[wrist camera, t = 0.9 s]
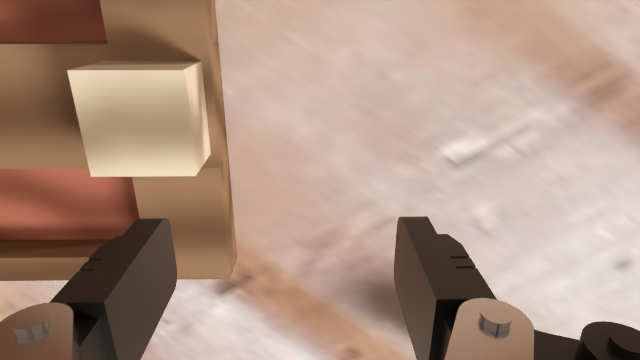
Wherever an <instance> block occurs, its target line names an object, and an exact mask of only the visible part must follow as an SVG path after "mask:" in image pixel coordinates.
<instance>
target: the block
mask: <svg viewBox="0 0 640 360" xmlns="http://www.w3.org/2000/svg"><path fill="white" fill-rule="evenodd" d="M67 72H68V77H69V81H70V85H71V90H72V94H73V99H74V103H75V108H76V112H77V117H78V121H79V126H80V130H81V135H82V139H83V144H84V148H85V153H86V157H87V162H88V166H89V171H90V175H91V177H150V176H196V175H197V173H198V172H199V170H200V169H201V167H202V166H203V164H204V163H205V162H206V160H207V159H208V157H209V156H210V154H211V151H210V141H209V132H208V122H207V112H206V103H205V93H204V83H203V74H202V64H201V61H102V62H98V63H94V64H90V65H86V66H82V67H78V68H74V69H70V70H67Z"/></svg>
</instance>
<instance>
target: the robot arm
mask: <svg viewBox="0 0 640 360" xmlns="http://www.w3.org/2000/svg"><path fill="white" fill-rule="evenodd" d="M394 280H395V287H396V291H397V294H398V298H399V301H400V304H401V308H402V311H403V314H404V318H405V321H406V324H407V328H408V331H409V335H410V338H411V341H412V345H413V348H414V351H415V355H416V358H417V360H640V331H638V330H636V329H634V328H631V327H628V326H625V325H622V324H618V323H613V322H594V323H590V324H588V325H587V326H585V327H584V329H583V330H582V334H581V337H580V340H576V339H572V338H567V337H562V336H557V335H553V334H548V333H544V332H540V331H537V330H534V327H533V325H532V323H531V321H530V320H529V318H528V317H527V316H526V315H525V314H524V313H523V312H521V311H520V310H519V309H517V308H516V307H514V306H512V305H510V304H508V303H505V302H502V301H499V300H497V299H496V298H495V296H494V294H493V293H492V291H491V290H490V288H489V287H488V285H487V283H486V282H485V280H484V279H483V277H482V276H481V274H480V272H479V271H478V269H477V268H475V264H474V263H473V261H472V260H471V258H469V255H468V253H467V252H466V250H465V249H464V247H463V246H462V244H461V243H459V242H458V241H456V240H455V239H454V238H452V237H451V236H449V235H448V234H437V233H436V231H435V229H434V227H433V226H432V224H431V222H430V220H429V218H428V217H399V219H398V224H397V235H396V248H395V260H394ZM176 282H177V264H176V258H175V251H174V245H173V238H172V232H171V226H170V222H169V220H168V219H167V218H138V219H136V220H135V221H134V223H133V224H132V225H131V226H130V227H129V229H128V230H127V231H126V232H125V233H124V234H123V236H118V237H115V238H113V239H112V240H110V241H108V242H107V243H105V244H103V245H102V246H100V247H99V248H98V249H97V250H96V251H95V252H94V253H93V255H92V256H91V257H90V258H89V261H86V262H85V263H84V265H83V266H82V267H81V268H80V271H79V272H76V273H75V275H74V276H73V277H72V278H71V279H70V280H69V281H68V282H67V284H66V285H65V286H64V287H63V288H62V289H61V290H60V291H59V292H58V294H57V295H56V296H55V297H54V298H53V299H52V300H51V301H50V302H49V303H43V304H38V305H34V306H31V307H27V308H25V309H22V310H20V311H18V312H16V313H14V314H12V315H10V316H8V317H7V318H5V319H4V320H2V321H1V322H0V360H140V359H141V357H142V355H143V353H144V351H145V349H146V347H147V345H148V343H149V341H150V339H151V337H152V335H153V333H154V331H155V329H156V327H157V325H158V323H159V321H160V319H161V317H162V315H163V312H164V310H165V308H166V306H167V304H168V302H169V300H170V298H171V296H172V294H173V292H174V290H175V287H176Z"/></svg>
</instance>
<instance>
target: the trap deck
mask: <svg viewBox="0 0 640 360" xmlns="http://www.w3.org/2000/svg"><path fill="white" fill-rule="evenodd" d="M102 61H201V64H202V74H203V83H204V93H205V103H206V112H207V122H208V132H209V141H210V151H211V154H210V156H209V157H208V159H207V160H206V162H205V163H204V164H203V166H202V167H201V169H200V170H199V172H198V173H197V175H196V176H150V177H91V175H90V171H89V166H88V162H87V157H86V153H85V148H84V144H83V139H82V135H81V130H80V126H79V121H78V117H77V112H76V108H75V103H74V99H73V94H72V90H71V85H70V81H69V77H68V72H67V70H70V69H74V68H78V67H82V66H86V65H90V64H94V63H98V62H102ZM138 218H167V219H168V220H169V222H170V226H171V232H172V238H173V245H174V251H175V258H176V264H177V279H230V278H231V275H232V272H233V268H234V265H235V262H236V258H237V252H236V241H235V229H234V218H233V206H232V195H231V183H230V172H229V160H228V149H227V137H226V125H225V114H224V102H223V91H222V79H221V68H220V56H219V45H218V33H217V22H216V10H215V0H0V281H37V280H70V279H71V278H72V277H73V276H74V275H75V273H76V272H79V271H80V268H81V267H82V266H83V265H84V263H85V262H86V261H89V258H90V257H91V256H92V255H93V253H94V252H95V251H96V250H97V249H98V248H99V247H100V246H102V245H103V244H105V243H107V242H108V241H110V240H112V239H113V238H115V237H118V236H123V234H124V233H125V232H126V231H127V230H128V229H129V227H130V226H131V225H132V224H133V223H134V221H135V220H136V219H138Z"/></svg>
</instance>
